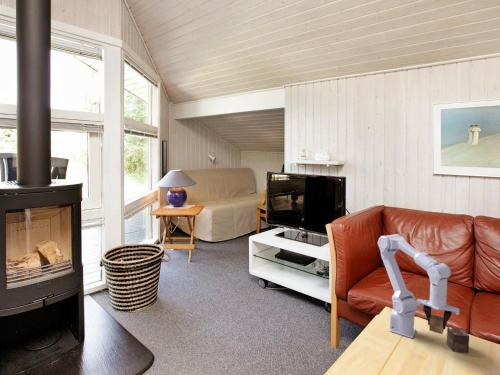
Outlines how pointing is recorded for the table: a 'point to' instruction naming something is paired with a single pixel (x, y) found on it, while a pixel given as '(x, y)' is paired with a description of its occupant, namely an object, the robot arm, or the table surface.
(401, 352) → the table surface
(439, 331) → the walnut block
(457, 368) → the table surface
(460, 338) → the box
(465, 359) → the table surface
